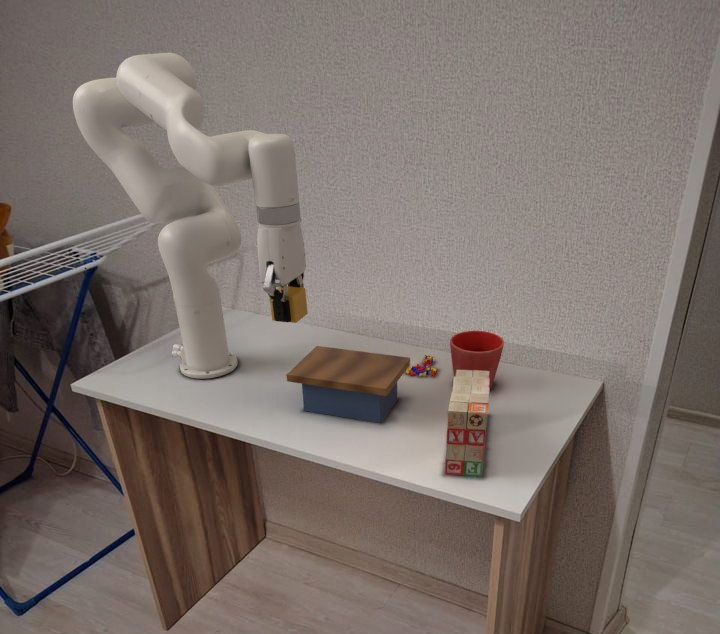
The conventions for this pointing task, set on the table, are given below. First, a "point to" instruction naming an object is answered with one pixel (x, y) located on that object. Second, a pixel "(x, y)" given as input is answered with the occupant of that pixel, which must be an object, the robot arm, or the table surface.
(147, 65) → the robot arm
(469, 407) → the stack of blocks
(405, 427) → the table surface
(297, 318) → the mustard block
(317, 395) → the blue box
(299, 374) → the wooden board
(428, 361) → the building blocks
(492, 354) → the flower pot
